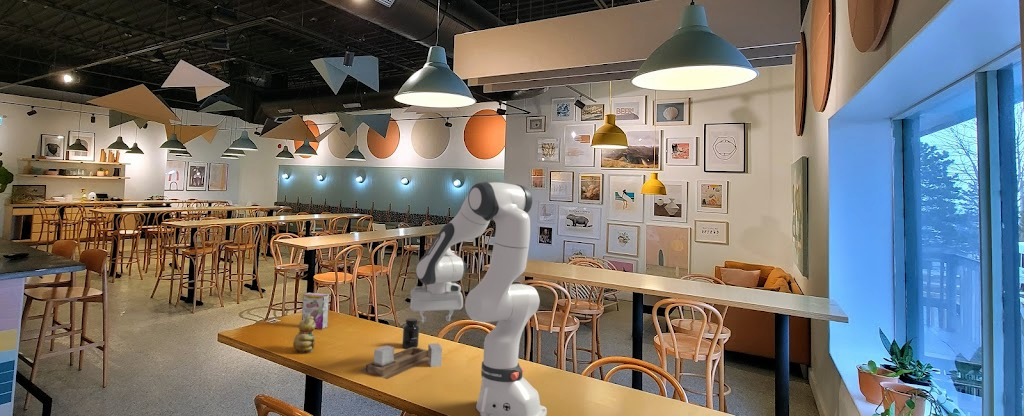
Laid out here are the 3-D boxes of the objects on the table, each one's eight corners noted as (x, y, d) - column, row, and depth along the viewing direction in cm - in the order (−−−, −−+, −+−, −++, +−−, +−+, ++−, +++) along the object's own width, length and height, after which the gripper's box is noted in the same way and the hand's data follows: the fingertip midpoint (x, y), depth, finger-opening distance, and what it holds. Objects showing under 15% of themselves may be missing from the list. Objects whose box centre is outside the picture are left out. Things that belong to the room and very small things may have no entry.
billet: (437, 363, 181) (438, 343, 181) (441, 368, 175) (441, 348, 175) (427, 364, 179) (428, 344, 179) (430, 369, 174) (431, 348, 174)
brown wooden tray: (434, 361, 184) (435, 351, 184) (387, 383, 160) (387, 371, 160) (407, 354, 191) (408, 344, 190) (358, 374, 167) (358, 363, 167)
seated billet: (393, 368, 170) (394, 347, 170) (381, 373, 165) (382, 351, 165) (385, 366, 172) (386, 345, 172) (373, 371, 167) (374, 349, 166)
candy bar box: (300, 328, 221) (302, 294, 221) (306, 325, 226) (308, 292, 226) (322, 329, 220) (323, 295, 219) (328, 327, 225) (329, 293, 224)
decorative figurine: (315, 353, 186) (316, 317, 186) (292, 355, 183) (294, 318, 183) (314, 346, 195) (315, 311, 195) (292, 348, 192) (294, 312, 191)
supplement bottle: (414, 349, 197) (415, 322, 197) (399, 348, 198) (400, 320, 198) (420, 345, 204) (421, 318, 203) (406, 343, 205) (407, 316, 205)
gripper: (412, 288, 170) (410, 325, 170) (465, 287, 178) (463, 322, 178) (409, 284, 176) (407, 320, 176) (460, 283, 184) (458, 318, 184)
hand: (435, 321), depth 177 cm, fingers open, 8 cm apart
